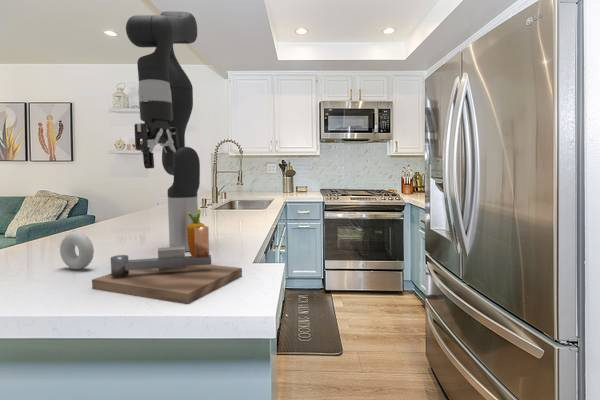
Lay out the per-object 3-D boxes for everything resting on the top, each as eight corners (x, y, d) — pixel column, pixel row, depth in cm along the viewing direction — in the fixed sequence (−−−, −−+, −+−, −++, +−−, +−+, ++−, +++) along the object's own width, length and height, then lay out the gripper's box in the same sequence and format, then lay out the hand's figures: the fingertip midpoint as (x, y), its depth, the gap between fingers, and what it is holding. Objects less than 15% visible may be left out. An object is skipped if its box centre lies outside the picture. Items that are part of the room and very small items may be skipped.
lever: (113, 272, 85) (111, 230, 84) (211, 265, 90) (210, 225, 89) (109, 277, 81) (107, 232, 80) (211, 269, 87) (210, 227, 86)
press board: (158, 266, 100) (157, 240, 99) (242, 276, 90) (241, 247, 89) (92, 288, 81) (90, 257, 81) (187, 303, 71) (186, 268, 71)
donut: (97, 269, 97) (95, 231, 97) (86, 272, 94) (84, 233, 93) (69, 266, 101) (67, 229, 100) (57, 269, 97) (55, 232, 97)
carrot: (189, 266, 99) (188, 211, 98) (186, 262, 103) (184, 209, 102) (208, 264, 101) (206, 210, 100) (204, 260, 106) (202, 208, 104)
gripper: (160, 106, 98) (164, 167, 100) (121, 98, 85) (127, 169, 86) (185, 104, 96) (189, 166, 98) (150, 95, 83) (155, 168, 84)
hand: (160, 167), depth 92 cm, fingers open, 8 cm apart
